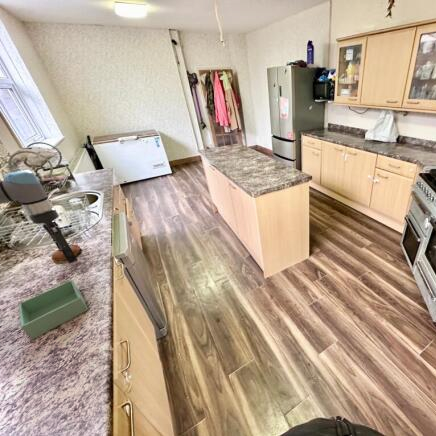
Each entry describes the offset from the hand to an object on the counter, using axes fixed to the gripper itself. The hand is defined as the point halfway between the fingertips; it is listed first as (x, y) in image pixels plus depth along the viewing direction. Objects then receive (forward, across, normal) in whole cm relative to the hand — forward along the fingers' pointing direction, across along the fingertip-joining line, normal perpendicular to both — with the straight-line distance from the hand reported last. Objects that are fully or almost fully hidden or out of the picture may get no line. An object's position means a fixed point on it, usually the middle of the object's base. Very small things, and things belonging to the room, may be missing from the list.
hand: (69, 257), depth 101 cm
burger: (0, 0, 0) cm, 0 cm away
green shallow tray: (+2, -32, +11) cm, 34 cm away
